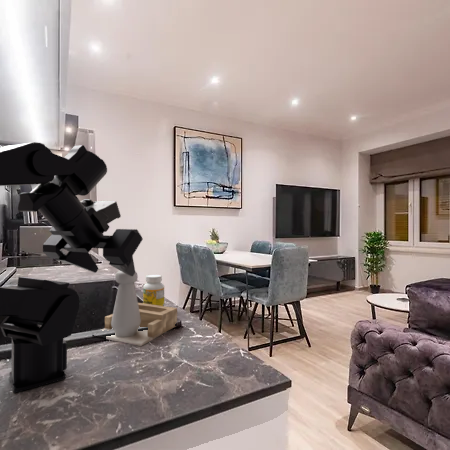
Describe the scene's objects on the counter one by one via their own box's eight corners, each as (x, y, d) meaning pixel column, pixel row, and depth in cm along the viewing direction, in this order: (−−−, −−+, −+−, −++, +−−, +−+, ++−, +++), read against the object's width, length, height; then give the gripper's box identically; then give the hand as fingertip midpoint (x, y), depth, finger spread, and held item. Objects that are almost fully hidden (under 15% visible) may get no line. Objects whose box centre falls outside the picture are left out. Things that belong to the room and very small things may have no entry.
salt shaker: (132, 327, 68) (133, 267, 68) (145, 334, 64) (146, 270, 64) (106, 333, 64) (107, 270, 64) (118, 341, 60) (119, 273, 60)
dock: (141, 346, 59) (141, 325, 59) (91, 335, 64) (92, 316, 64) (177, 325, 71) (177, 308, 71) (133, 318, 76) (134, 302, 76)
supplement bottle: (168, 312, 81) (168, 275, 81) (151, 317, 77) (152, 278, 77) (155, 308, 85) (155, 273, 85) (138, 312, 81) (139, 275, 81)
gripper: (136, 181, 52) (171, 243, 63) (57, 185, 60) (100, 240, 70) (100, 228, 45) (146, 290, 55) (15, 226, 52) (70, 281, 63)
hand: (114, 272), depth 61 cm, fingers open, 9 cm apart
